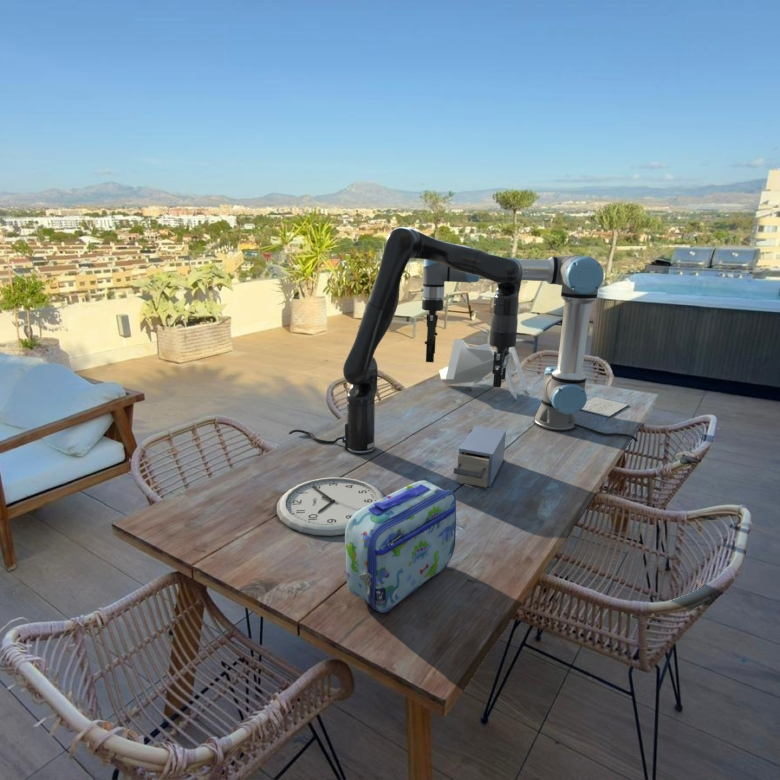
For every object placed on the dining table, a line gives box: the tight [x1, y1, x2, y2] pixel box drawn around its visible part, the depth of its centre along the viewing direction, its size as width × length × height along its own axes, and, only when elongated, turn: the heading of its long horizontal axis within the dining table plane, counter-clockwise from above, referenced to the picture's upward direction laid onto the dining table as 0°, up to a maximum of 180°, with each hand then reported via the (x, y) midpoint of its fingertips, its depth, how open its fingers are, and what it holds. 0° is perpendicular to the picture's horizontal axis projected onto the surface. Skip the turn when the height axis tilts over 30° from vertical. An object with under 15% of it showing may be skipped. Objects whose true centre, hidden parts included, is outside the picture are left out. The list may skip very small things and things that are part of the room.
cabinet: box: [458, 425, 507, 487], centre depth 164 cm, size 20×10×10 cm, turn 157°
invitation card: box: [580, 396, 629, 418], centre depth 226 cm, size 21×1×15 cm
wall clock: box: [276, 476, 386, 537], centre depth 142 cm, size 30×2×30 cm
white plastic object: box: [438, 338, 531, 400], centre depth 245 cm, size 37×45×31 cm
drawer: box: [453, 452, 489, 488], centre depth 158 cm, size 25×9×8 cm, turn 157°
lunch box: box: [344, 480, 457, 614], centre depth 109 cm, size 26×11×21 cm, turn 135°
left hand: (499, 382), depth 156 cm, fingers open, 8 cm apart
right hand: (430, 357), depth 189 cm, fingers open, 13 cm apart
